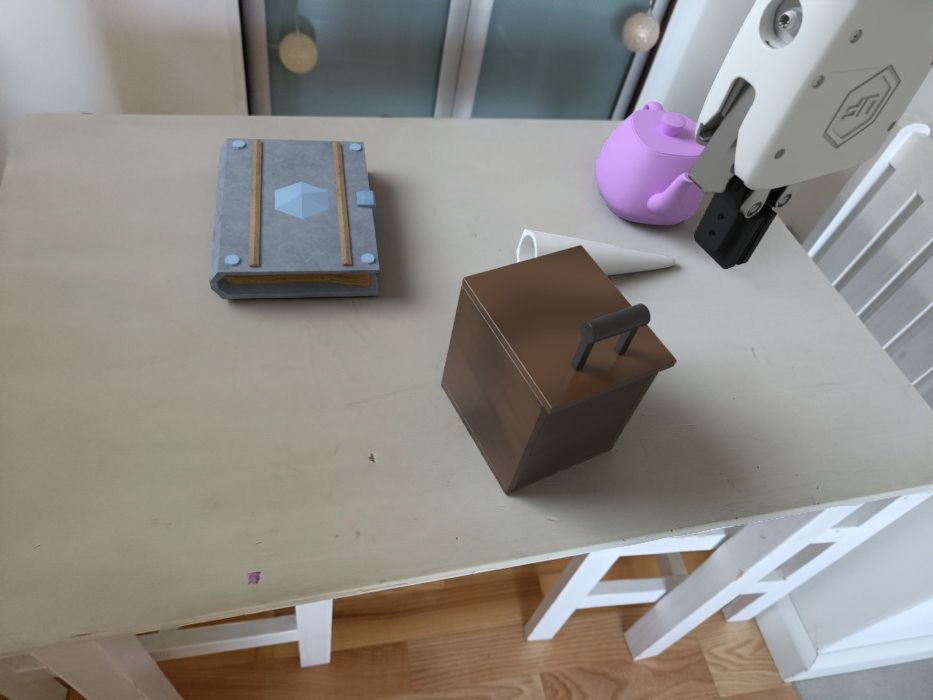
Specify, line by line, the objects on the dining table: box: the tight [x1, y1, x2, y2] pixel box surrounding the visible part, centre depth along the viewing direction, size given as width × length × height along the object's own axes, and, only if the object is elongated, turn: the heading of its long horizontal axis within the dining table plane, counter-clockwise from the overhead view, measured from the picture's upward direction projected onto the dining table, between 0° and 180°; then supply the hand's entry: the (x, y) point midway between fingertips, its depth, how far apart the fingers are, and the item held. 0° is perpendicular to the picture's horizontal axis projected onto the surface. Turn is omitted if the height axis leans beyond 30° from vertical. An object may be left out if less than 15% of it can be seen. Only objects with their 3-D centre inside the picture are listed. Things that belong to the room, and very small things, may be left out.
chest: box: [440, 284, 660, 496], centre depth 59 cm, size 13×12×14 cm
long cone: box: [515, 228, 677, 277], centre depth 77 cm, size 6×6×19 cm
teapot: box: [594, 101, 706, 226], centre depth 83 cm, size 20×13×12 cm, turn 2°
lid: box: [461, 245, 678, 414], centre depth 52 cm, size 13×12×6 cm
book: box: [209, 137, 381, 300], centre depth 74 cm, size 21×16×5 cm
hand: (718, 251), depth 42 cm, fingers closed
